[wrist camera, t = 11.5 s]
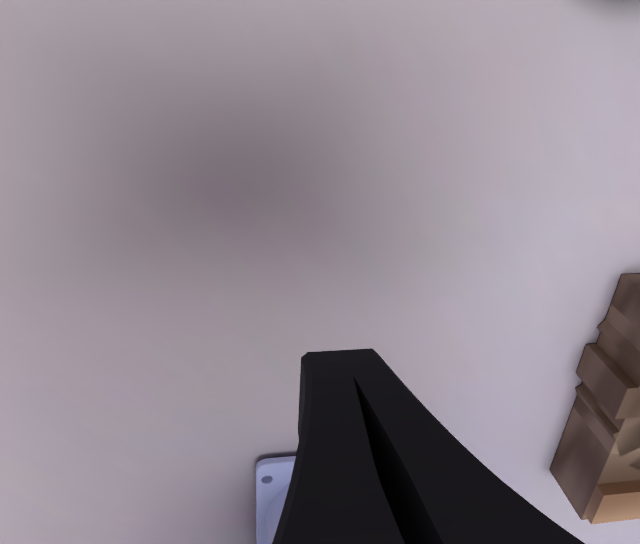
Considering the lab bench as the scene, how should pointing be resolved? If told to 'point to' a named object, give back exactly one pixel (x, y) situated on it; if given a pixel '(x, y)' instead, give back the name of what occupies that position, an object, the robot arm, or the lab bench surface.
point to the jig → (606, 418)
